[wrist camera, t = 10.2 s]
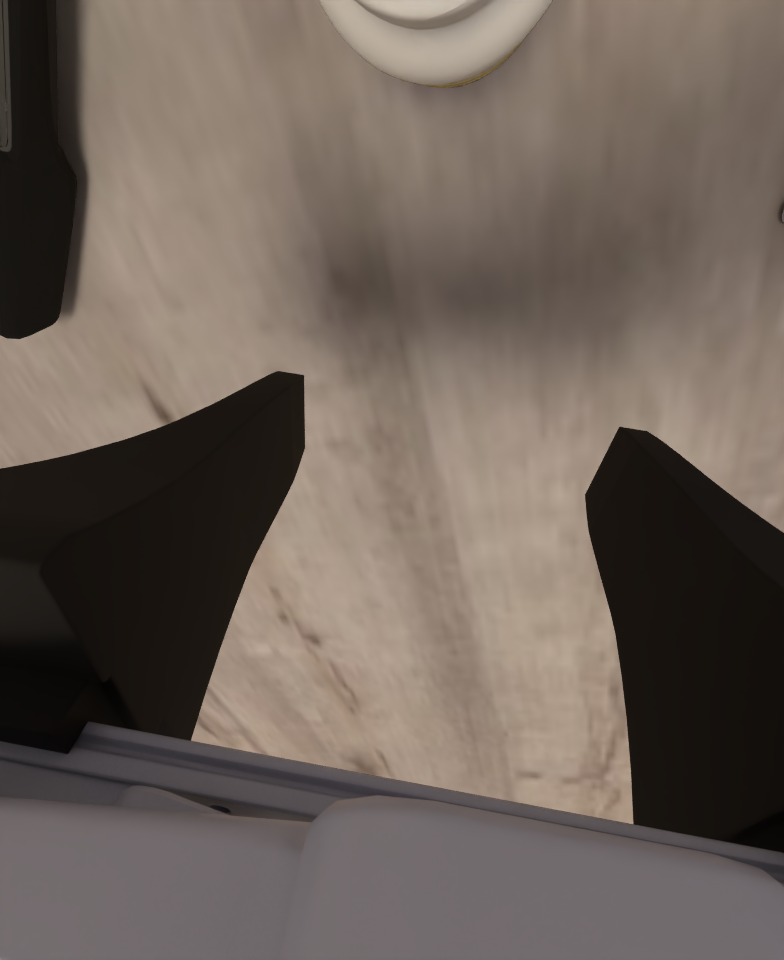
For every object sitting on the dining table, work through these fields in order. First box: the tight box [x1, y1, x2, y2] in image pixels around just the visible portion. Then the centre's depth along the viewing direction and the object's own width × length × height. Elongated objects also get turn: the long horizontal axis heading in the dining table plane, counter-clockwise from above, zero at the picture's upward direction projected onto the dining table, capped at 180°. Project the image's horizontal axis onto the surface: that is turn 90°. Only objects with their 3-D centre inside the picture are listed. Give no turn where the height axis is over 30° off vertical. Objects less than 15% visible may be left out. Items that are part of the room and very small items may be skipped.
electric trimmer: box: [0, 0, 77, 339], centre depth 16 cm, size 4×16×3 cm, turn 155°
